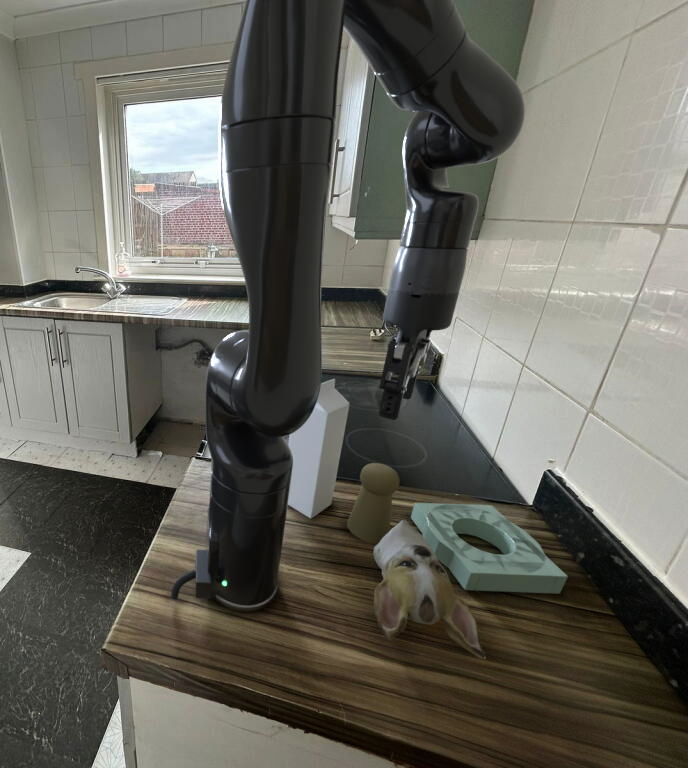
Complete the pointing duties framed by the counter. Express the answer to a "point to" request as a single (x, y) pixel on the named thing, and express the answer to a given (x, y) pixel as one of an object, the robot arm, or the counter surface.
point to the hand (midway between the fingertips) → (395, 406)
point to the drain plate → (482, 569)
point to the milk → (318, 452)
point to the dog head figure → (419, 590)
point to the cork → (374, 503)
